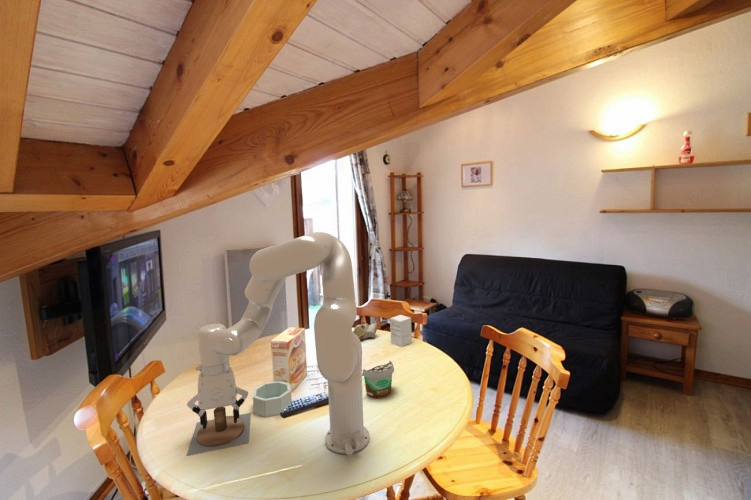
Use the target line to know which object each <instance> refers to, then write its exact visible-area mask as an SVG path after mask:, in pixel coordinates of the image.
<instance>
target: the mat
mask: <svg viewBox="0 0 751 500" xmlns="http://www.w3.org/2000/svg"><path fill="white" fill-rule="evenodd" d="M251 416H252V413H251V412H247V413H242V414H239V417H240V418H242V419H243V421H244V425H245V429H244V431H243V433H242V434H241V435H240V436H239V437H238V438H237V439H235V440H233V441H232V442H229V443H227V444H224V445H221V446H216V447H206V446H203V445H201V444H199V442H198V440H197V433H198V431H199V429H200V428H201V427H202V426H203V425H201V423H200V421H199V422H196V425H195V428H194V430H193V434H192V437H191V441H190V443H189V446H188V449H187V453H186V455H185V456H186V457H189V456H193V455H198V454H203V453H208V452H213V451H218V450H219V451H220V450H224V449H227V448H228V449H229V448H232V447H238V446H242V445H247V444H249V443H250V433H251V432H250V431H251V430H250V429H251V418H252V417H251ZM211 420H212V419H209V420H208V419H207V422H209V421H211Z"/></svg>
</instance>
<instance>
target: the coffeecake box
mask: <svg viewBox="0 0 751 500" xmlns="http://www.w3.org/2000/svg"><path fill="white" fill-rule="evenodd" d="M305 330H306V329H305V327H293V326H292V327H291V326H289V327H287V328H286V329H285V330H283V332H281V333H280V334H278V335H277V336H275V337H274V338H272V340H270V349H271V361H272V363H271V364H272V378H273V379H272V380H273V381H272V382H275V381H282V382H285V383H289V384H290V388H291V393H293V392H294V390H296V388H297V387H298V386H299V385H300V384H301V383H302V381H303V380H304V379H305V378H307V376H308V366H307V349H306V348H307V346H306V345H307V344H306V331H305Z"/></svg>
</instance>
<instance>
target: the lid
mask: <svg viewBox="0 0 751 500" xmlns="http://www.w3.org/2000/svg"><path fill="white" fill-rule="evenodd" d="M213 409H214V410H213V419H210V420H211V421H209V422H207V426H206V428H205V429H203V426H202V427H201V428H200V429H199V431H198V433H197V440H198V442H199V444H201V445H203V446H206V447H216V446H221V445H224V444H227V443H229V442H232V441H233V440H235V439H237V438H238V437H239V436H240V435H241V434H242V433H243V431H244V429H245V425H244V421H243V419H242V418H240V417H239V418H237V423H234V417H233V415H227V414H226V413H227V412H226V411H227V410H226V406H224V407H219V408H213Z"/></svg>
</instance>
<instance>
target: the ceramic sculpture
mask: <svg viewBox="0 0 751 500" xmlns="http://www.w3.org/2000/svg"><path fill="white" fill-rule="evenodd" d="M377 330H378V323H377V322H375V323H371V324H368V323H367V322H365V321H363V322H362V323H361V324H357V325H356V326H355V327H354V330H352V332H353V333H355V334H356V335H357V336H358V338H359V340H360V341H361V340H364V339H367V338H372V339H374V338H375V336H376V333H377Z"/></svg>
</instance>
